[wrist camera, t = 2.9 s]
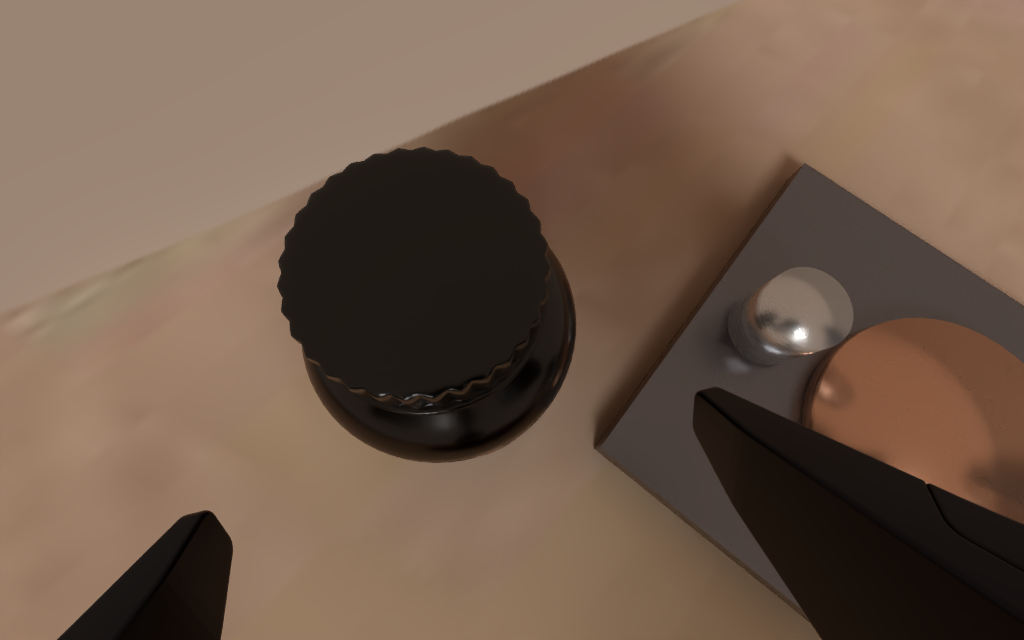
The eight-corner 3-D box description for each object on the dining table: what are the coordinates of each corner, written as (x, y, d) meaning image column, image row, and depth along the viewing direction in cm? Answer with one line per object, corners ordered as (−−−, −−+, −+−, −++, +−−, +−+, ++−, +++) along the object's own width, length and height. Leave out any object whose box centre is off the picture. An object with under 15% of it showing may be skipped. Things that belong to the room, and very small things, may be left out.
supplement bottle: (451, 264, 21) (402, 34, 10) (577, 359, 20) (691, 230, 9) (343, 388, 19) (126, 291, 8) (475, 497, 19) (447, 567, 7)
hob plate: (1198, 448, 20) (1375, 447, 16) (1064, 826, 16) (1250, 948, 12) (789, 177, 23) (852, 118, 19) (593, 448, 19) (620, 446, 15)
